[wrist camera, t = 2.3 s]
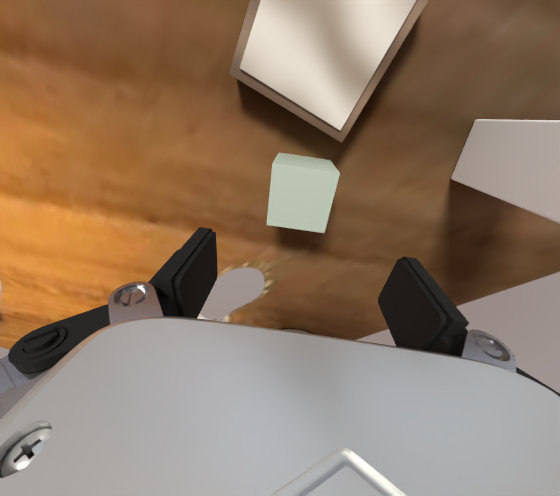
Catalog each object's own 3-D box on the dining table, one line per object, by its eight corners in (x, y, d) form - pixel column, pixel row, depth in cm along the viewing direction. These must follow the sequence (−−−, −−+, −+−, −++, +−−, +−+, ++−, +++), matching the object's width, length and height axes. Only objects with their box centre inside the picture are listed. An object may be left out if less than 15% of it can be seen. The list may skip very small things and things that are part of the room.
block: (318, 208, 28) (324, 233, 22) (273, 201, 28) (266, 224, 22) (330, 159, 25) (339, 173, 19) (278, 152, 25) (272, 163, 19)
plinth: (337, 140, 24) (342, 143, 21) (236, 78, 22) (227, 73, 19) (421, -4, 18) (444, -25, 15) (295, -107, 16) (294, -155, 13)
